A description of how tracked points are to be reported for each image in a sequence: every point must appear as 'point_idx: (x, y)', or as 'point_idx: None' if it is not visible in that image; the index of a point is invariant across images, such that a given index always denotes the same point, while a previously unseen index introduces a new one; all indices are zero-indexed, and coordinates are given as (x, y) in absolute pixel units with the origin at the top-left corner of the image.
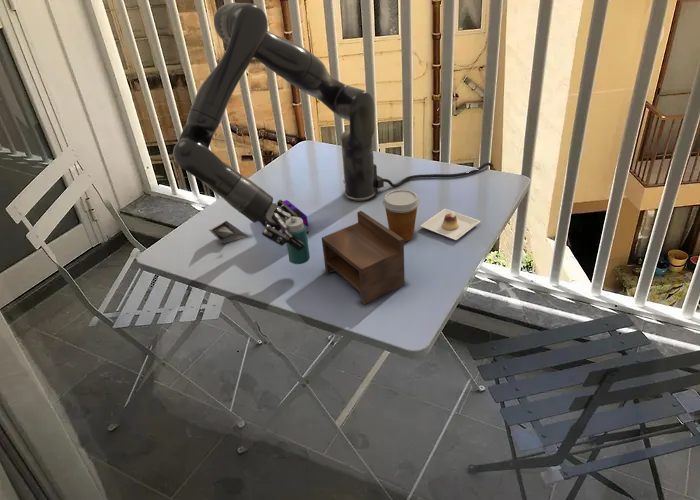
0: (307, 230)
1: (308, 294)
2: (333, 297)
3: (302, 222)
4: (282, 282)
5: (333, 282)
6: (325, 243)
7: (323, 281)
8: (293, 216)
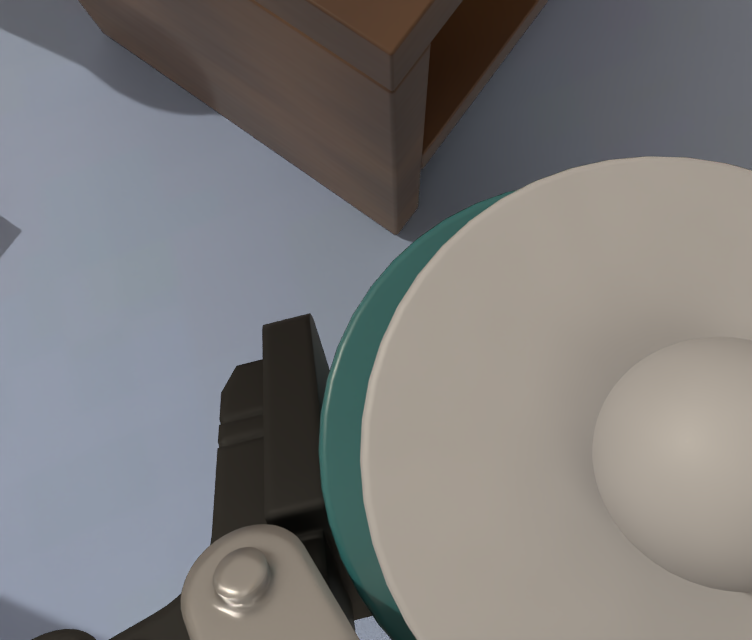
0: (278, 331)
1: None
2: (686, 57)
3: (610, 163)
4: None
5: (515, 124)
6: (451, 6)
7: None
8: (733, 486)
